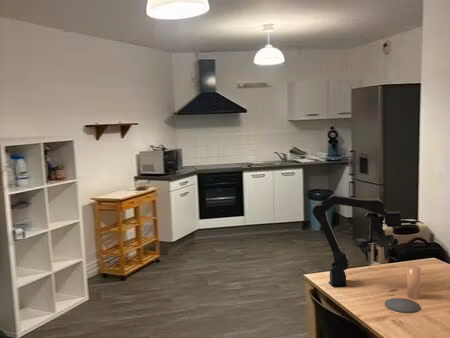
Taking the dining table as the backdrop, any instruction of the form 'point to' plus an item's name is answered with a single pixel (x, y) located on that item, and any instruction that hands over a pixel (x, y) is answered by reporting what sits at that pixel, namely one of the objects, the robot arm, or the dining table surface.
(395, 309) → the mat
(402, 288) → the dining table surface
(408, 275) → the tan rounded cylinder
